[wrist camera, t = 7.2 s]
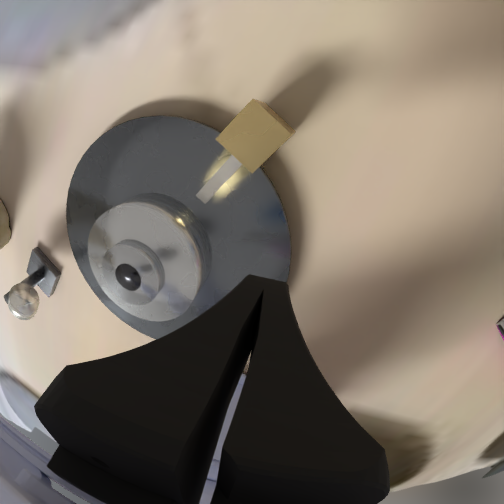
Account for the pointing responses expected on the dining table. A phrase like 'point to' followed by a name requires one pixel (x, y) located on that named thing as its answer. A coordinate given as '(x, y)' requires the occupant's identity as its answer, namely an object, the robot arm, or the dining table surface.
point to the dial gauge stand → (23, 294)
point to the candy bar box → (501, 327)
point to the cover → (150, 256)
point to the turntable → (190, 196)
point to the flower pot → (4, 226)
